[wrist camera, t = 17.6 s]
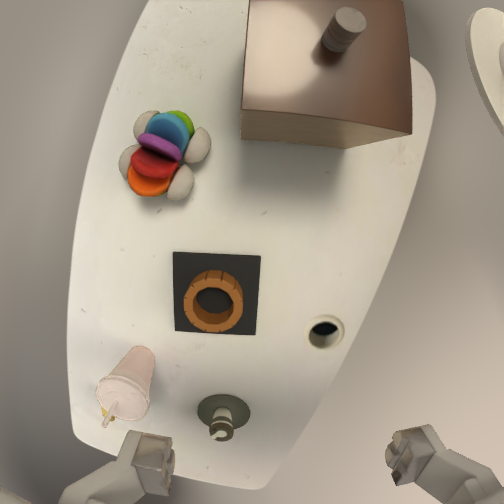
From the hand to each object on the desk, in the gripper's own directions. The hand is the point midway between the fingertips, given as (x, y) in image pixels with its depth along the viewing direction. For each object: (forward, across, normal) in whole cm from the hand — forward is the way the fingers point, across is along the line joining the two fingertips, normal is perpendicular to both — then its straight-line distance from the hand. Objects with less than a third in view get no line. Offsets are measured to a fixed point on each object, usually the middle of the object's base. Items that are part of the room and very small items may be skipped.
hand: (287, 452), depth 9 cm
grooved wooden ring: (+26, +5, +5) cm, 27 cm away
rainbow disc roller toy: (+27, +11, -11) cm, 31 cm away
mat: (+27, +5, +5) cm, 28 cm away
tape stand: (+27, -3, -19) cm, 33 cm away
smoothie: (+27, +15, +15) cm, 34 cm away
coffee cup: (+27, +4, +24) cm, 36 cm away
